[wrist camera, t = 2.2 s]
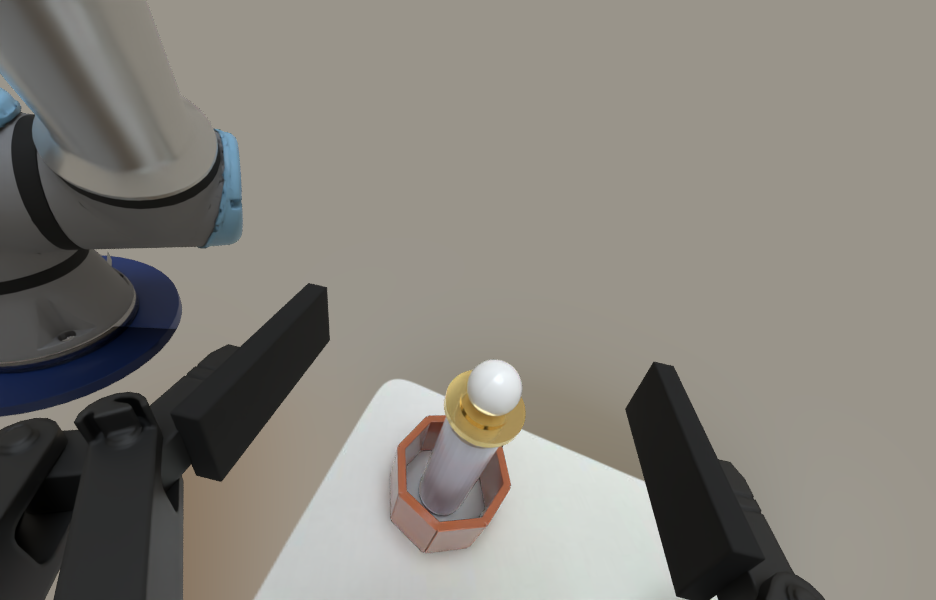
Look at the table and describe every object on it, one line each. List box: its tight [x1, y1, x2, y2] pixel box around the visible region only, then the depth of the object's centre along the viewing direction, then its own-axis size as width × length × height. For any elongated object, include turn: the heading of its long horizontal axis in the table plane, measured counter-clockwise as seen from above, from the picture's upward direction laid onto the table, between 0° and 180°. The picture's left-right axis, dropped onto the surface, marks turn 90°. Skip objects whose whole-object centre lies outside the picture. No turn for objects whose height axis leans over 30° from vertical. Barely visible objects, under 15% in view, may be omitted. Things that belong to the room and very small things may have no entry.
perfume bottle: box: [419, 359, 525, 515], centre depth 29 cm, size 6×6×20 cm
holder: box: [390, 415, 511, 553], centre depth 34 cm, size 10×10×6 cm
